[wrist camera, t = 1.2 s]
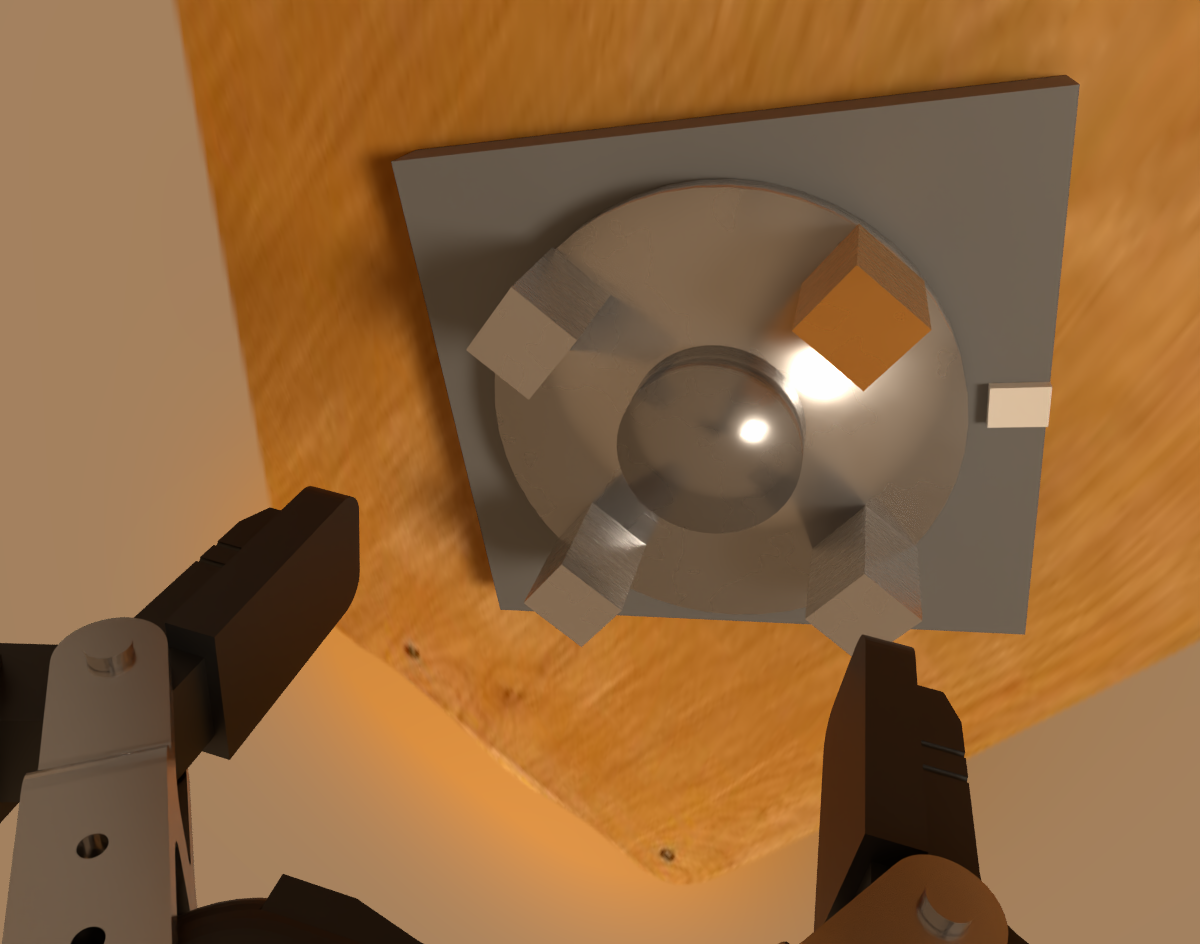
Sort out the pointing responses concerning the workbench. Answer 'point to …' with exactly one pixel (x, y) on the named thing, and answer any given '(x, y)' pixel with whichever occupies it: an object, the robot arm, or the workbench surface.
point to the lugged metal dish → (729, 410)
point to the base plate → (853, 182)
